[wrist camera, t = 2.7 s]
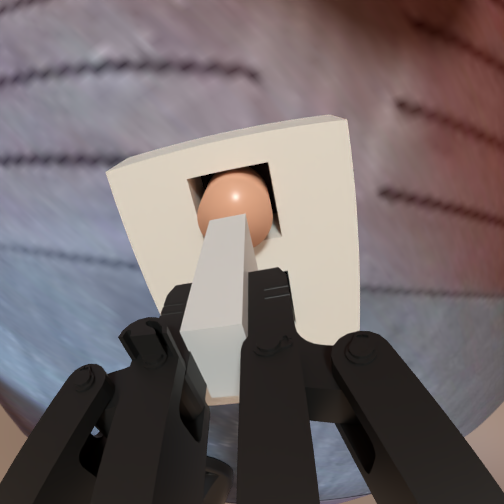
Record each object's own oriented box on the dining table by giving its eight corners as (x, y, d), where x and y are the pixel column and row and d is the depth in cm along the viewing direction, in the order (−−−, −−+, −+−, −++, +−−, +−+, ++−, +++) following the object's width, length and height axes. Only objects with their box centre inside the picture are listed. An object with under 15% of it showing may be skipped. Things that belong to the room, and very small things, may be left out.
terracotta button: (273, 217, 21) (278, 244, 18) (214, 228, 21) (207, 257, 18) (262, 159, 19) (265, 174, 16) (199, 172, 20) (188, 190, 16)
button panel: (347, 352, 29) (357, 383, 26) (209, 374, 31) (206, 405, 27) (329, 114, 19) (347, 119, 16) (128, 157, 20) (105, 172, 17)
